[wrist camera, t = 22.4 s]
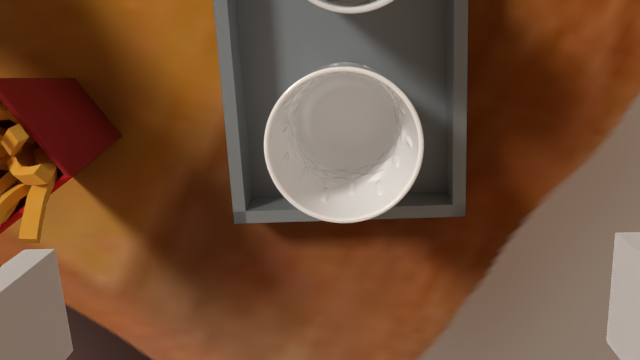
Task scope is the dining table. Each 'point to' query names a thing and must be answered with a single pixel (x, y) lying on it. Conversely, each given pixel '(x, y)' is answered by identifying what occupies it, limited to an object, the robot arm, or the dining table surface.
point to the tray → (336, 47)
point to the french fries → (44, 145)
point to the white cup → (343, 143)
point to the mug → (350, 5)
